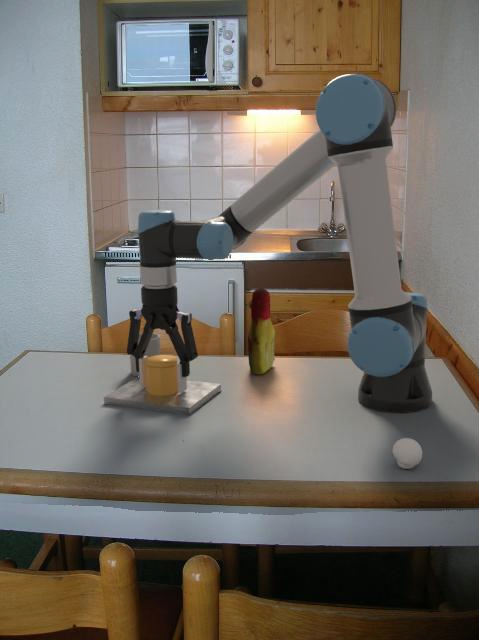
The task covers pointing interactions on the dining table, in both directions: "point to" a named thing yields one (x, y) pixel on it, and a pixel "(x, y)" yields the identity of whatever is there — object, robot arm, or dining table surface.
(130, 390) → the plate
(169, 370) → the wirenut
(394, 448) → the mushroom
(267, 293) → the bottle
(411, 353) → the robot arm
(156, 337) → the cup
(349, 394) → the dining table surface
